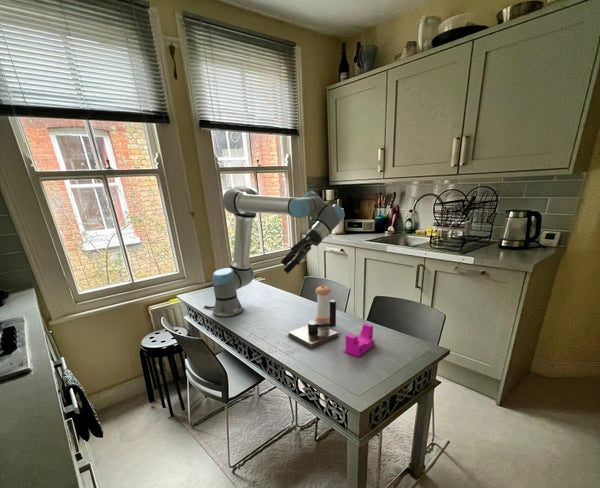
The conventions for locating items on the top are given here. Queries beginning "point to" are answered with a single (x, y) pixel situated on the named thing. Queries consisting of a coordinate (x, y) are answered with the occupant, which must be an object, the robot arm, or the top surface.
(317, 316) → the pepper shaker
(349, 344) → the toy block
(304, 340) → the pivot base
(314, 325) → the black stand
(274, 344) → the top surface
